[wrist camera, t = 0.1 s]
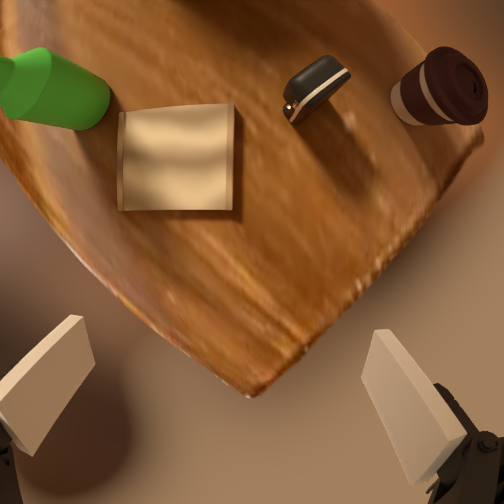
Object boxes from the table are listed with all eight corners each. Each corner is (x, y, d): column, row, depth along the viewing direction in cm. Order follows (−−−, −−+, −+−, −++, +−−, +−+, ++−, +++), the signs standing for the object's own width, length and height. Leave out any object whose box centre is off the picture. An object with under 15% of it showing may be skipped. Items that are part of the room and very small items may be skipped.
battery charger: (310, 79, 33) (331, 45, 22) (329, 98, 33) (357, 71, 22) (273, 107, 34) (282, 79, 23) (293, 127, 35) (310, 107, 23)
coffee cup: (368, 93, 33) (422, 59, 18) (405, 65, 31) (460, 32, 17) (409, 146, 35) (475, 139, 20) (442, 114, 33) (505, 101, 18)
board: (124, 115, 34) (119, 112, 32) (234, 106, 34) (234, 102, 32) (123, 209, 37) (117, 211, 35) (232, 208, 37) (231, 210, 36)
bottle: (69, 138, 34) (-58, 129, 10) (67, 91, 32) (-45, 56, 8) (115, 120, 34) (-15, 83, 10) (112, 71, 32) (4, 7, 7)
